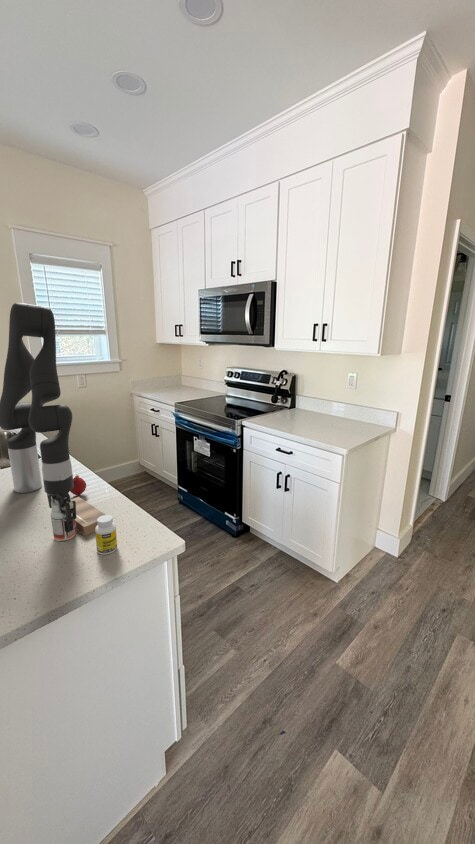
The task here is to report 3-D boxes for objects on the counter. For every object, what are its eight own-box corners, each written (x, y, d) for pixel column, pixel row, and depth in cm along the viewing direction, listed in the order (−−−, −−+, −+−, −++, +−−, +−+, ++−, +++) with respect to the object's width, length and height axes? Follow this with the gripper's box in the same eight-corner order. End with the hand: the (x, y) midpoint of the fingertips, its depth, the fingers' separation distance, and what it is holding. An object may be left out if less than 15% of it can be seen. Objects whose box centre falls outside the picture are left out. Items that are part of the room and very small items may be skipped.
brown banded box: (56, 513, 118) (55, 504, 117) (79, 504, 124) (78, 496, 123) (85, 535, 105) (84, 526, 104) (109, 525, 111) (108, 516, 110)
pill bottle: (76, 528, 109) (72, 495, 106) (76, 538, 103) (73, 504, 101) (53, 532, 106) (49, 499, 103) (53, 543, 101) (48, 508, 98)
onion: (80, 499, 127) (78, 479, 125) (66, 498, 128) (64, 477, 126) (90, 492, 132) (88, 473, 130) (76, 491, 134) (74, 471, 131)
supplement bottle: (102, 558, 95) (99, 526, 93) (93, 549, 99) (90, 518, 96) (121, 549, 99) (118, 518, 97) (111, 541, 103) (109, 511, 100)
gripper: (33, 471, 101) (40, 522, 106) (55, 486, 92) (62, 541, 97) (60, 464, 107) (66, 513, 111) (82, 477, 98) (88, 530, 102)
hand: (64, 526), depth 104 cm, fingers closed on pill bottle, 6 cm apart
